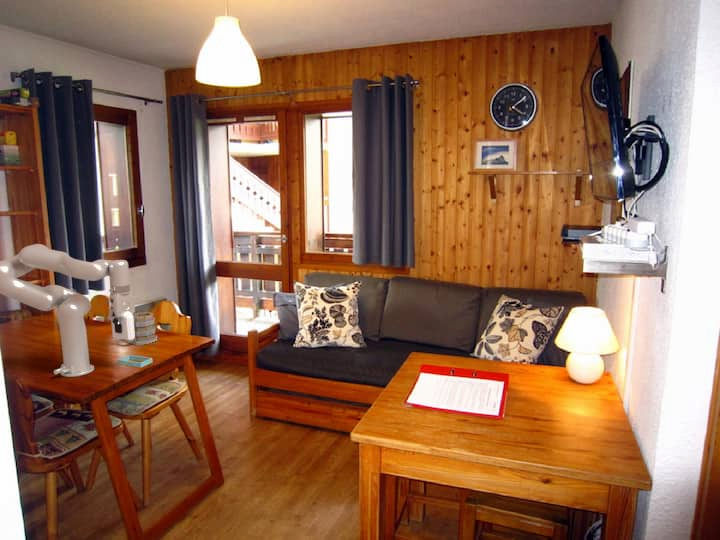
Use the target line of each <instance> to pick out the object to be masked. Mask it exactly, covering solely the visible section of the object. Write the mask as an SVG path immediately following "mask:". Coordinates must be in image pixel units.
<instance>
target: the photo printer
mask: <svg viewBox="0 0 720 540" xmlns="http://www.w3.org/2000/svg"><path fill="white" fill-rule="evenodd" d="M116 320H117V318H116ZM110 322H111V332H112V338H114V339H119V340H132V339H134V338H135V331H134V318H133V314H132V313H130V312H128V311H127V312H125V313H124V316H123V317H121V319H120V324H121V326H122V333H115V325H114V324H113V322H112V321H110Z"/></svg>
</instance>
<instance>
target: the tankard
mask: <svg viewBox="0 0 720 540" xmlns="http://www.w3.org/2000/svg"><path fill="white" fill-rule="evenodd" d="M133 318H134V331H135V338H134V339H132V340H125V342H126V343H128V344H130V345H133V344H134V345H133V346H145V345H144V344H148V345H150V344H149V343H151V344H153V343H152V342H154V343H156V342H158V339H159V338H158V335H155V334H156V326H155V322H156V318H155V317H154V313H153V312H149V311H148V312H147V311H145V312H144V311H143V312H135V313H134V314H133ZM157 338H158V339H157ZM155 341H156V342H155Z"/></svg>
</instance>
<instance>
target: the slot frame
mask: <svg viewBox="0 0 720 540" xmlns="http://www.w3.org/2000/svg"><path fill="white" fill-rule="evenodd" d="M129 359H130V360H129ZM127 360H128V361H127ZM152 363H153V358H152V357H148V356H140V355H133V354H128V355H126V356H123V357H122V358H119V359H117V365H120V364H121V366H127V365H128V367H134V368H135V367H136V368H139V369H140V368H143V367H145V366H148V365H151V364H152Z"/></svg>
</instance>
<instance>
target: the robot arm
mask: <svg viewBox="0 0 720 540" xmlns="http://www.w3.org/2000/svg"><path fill="white" fill-rule="evenodd" d="M34 269H40V270H45V271H50V272H55V273H60V274H62V275H64V276H68V277H70V278H73V279H74V278H75V279H79V280H84V281H85V280H86V281H91V282H92V281H93V282H95V281H100V280H102V279H104V278H106V277H109V290H108V291H109V299H108V311H109V314H108V316H107V320H108V321H110V322H111V321H112V322H113V324H114V325H115V333H122V326H121V324H120V319H121V317H123V316H124V313H125V312H127V311H128V312H130V313H132V314H136V313H137V312H136V307H135V300H134V299H135V298H134V295H133V291H131V287H130V284H131V283H130V270H129V262H128V261H127V260H126V259H115V260H111V259H109V260H108V259H103V258H102V259H97V260H94V261H91V262H90V261H85V260H81V259H76V258H73V257H71V256H70V255H69V254H68V253H67V252H65V251H60V250H55V249H50V248H49V247H47V246H46V245H44V244H41V243H35V244H31V245H27V246H25V247H23V248H21V250H20V251H19V253H17V254H15V255H14V256H12V257H9V258H7V259H3V260H0V294H1V295H3V296H5V297H7V298H10V299H13V300H14V301H17V302H20V303H22V304H25V305H27V306H29V307H31V308H35V309H37V310H40V311H44V312H48V311H52V310H53V309H55V308H56V318H57V319H56V320H57V323H58V326H59V333H60V339H61V340H60V341H61V350H62V359H63V363H62V364H61V366H60V368H57V369H54V370H53V374H54V375H58V374H60V375H61V376H62V377H70V378H71V377H80V376H83V375H87V374H89V373H92V372H94V370H95V366H94V365H92V364H90V355H89V344H88V335H87V326H86V323H85V320H84V319H85V318H84V317H85V316H86V315H87V314H88V313H89V312H90V311H91V309H92V303H91V300H90V299H89V298H88V297H87V296H85V295H83V294H81V293H79V292H76V291H74V290H72V289H69V288H66V287H64V286H62V285H57V284H50V285H49V284H48V285H46V286H44V287H43V286H40V285H37V284H35V283H32V282H30V281H26V280H22V279H19V277H23V276H24V275H26V274H28V273H30V272H31V271H34ZM116 318H117V320H116Z"/></svg>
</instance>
